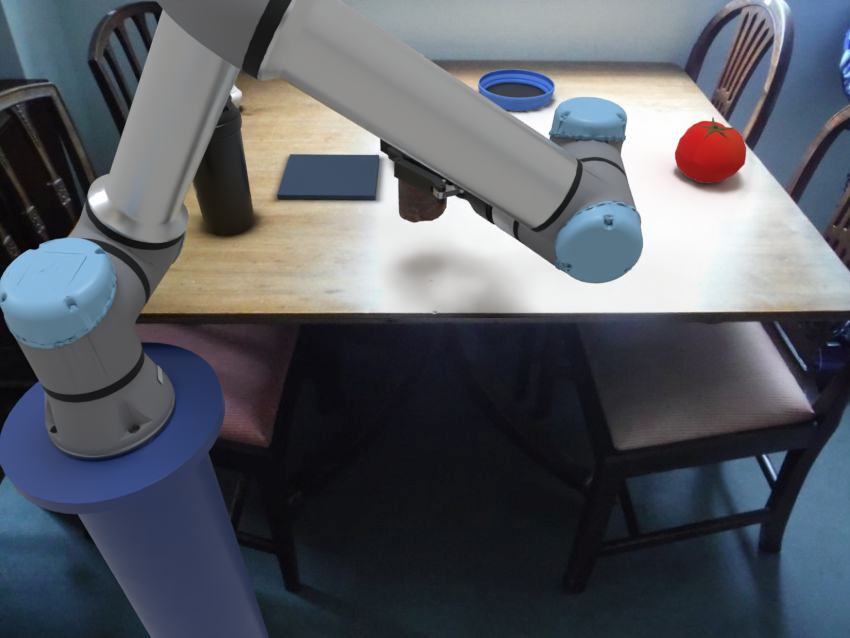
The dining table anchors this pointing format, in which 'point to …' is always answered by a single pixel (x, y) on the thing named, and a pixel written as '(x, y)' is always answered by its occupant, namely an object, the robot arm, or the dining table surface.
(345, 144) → the dining table surface
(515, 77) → the bowl
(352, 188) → the mat
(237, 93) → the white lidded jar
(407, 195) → the candle
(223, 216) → the water bottle
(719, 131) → the tomato
